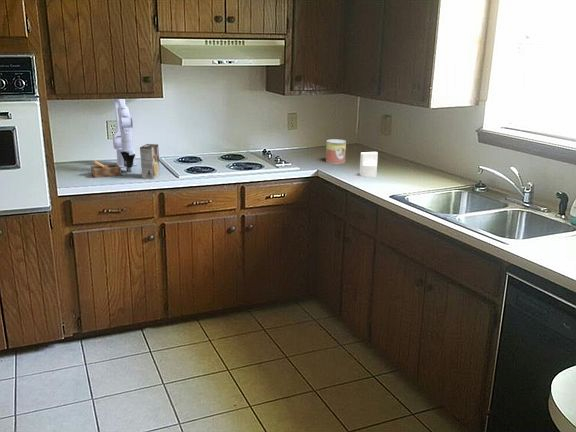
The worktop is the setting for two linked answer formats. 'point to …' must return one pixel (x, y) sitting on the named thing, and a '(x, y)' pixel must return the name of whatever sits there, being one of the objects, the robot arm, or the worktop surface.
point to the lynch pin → (127, 166)
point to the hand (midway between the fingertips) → (128, 166)
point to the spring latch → (98, 163)
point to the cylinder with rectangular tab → (368, 164)
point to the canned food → (335, 151)
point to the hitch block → (105, 170)
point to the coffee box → (150, 161)
